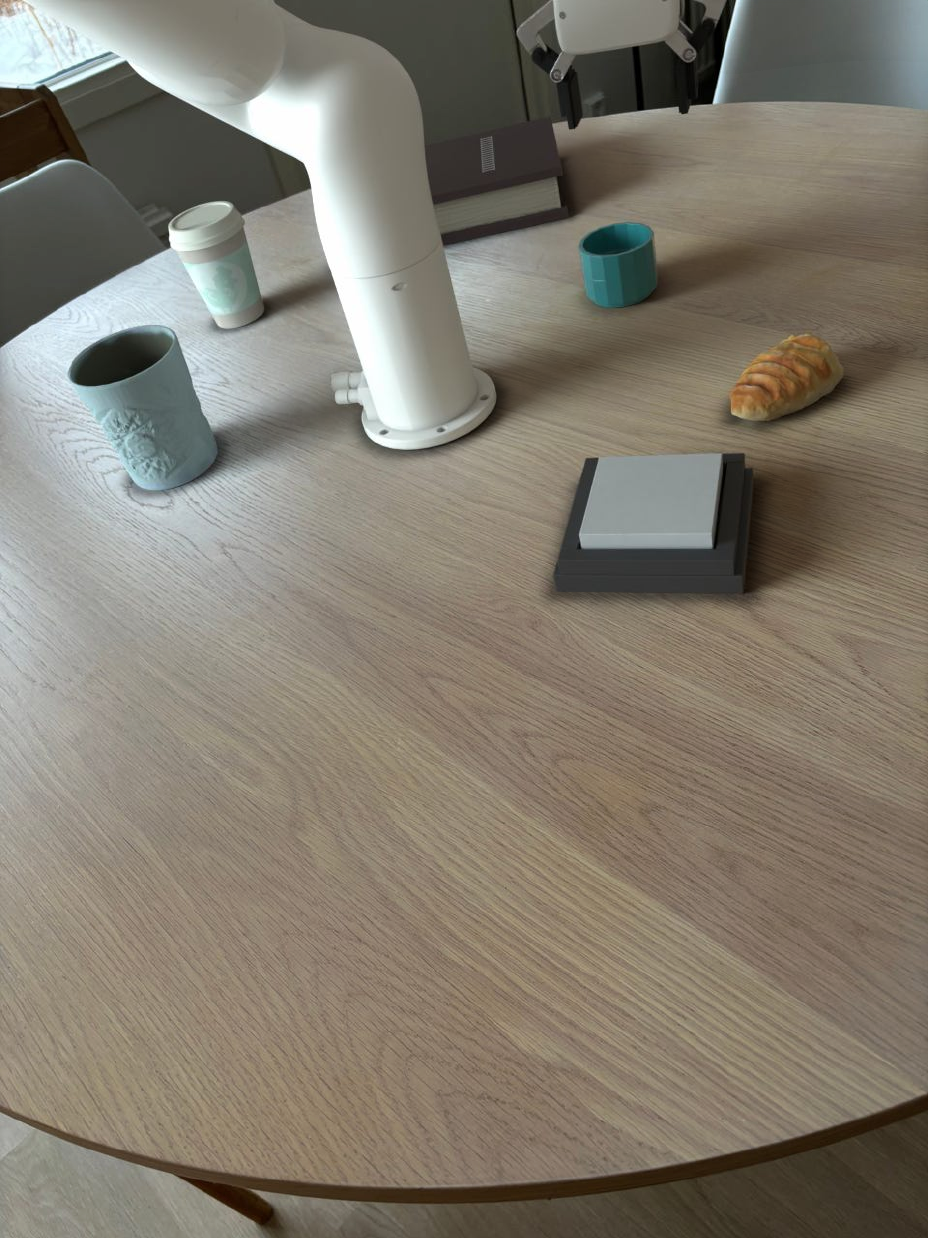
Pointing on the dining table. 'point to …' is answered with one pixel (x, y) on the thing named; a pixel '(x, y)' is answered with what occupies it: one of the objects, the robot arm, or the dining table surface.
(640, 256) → the teal faceted cup
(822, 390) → the pastry
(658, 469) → the pan
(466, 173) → the book
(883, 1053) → the dining table surface
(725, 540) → the scale
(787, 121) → the dining table surface
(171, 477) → the embossed blue pot
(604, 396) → the dining table surface
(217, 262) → the coffee cup
